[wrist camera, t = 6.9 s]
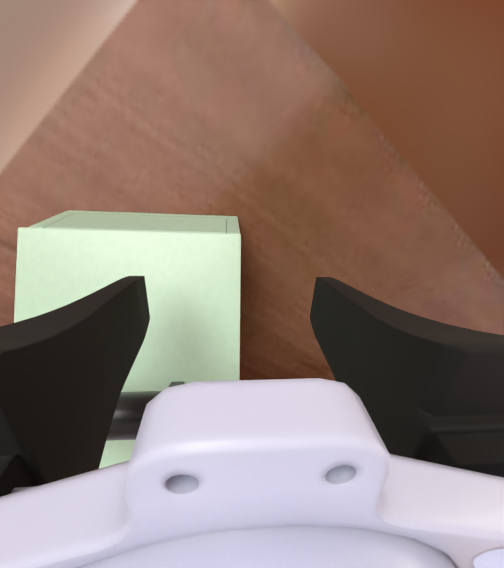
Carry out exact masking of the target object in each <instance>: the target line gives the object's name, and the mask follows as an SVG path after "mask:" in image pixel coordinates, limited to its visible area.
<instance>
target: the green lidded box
mask: <svg viewBox="0 0 504 568" xmlns="http://www.w3.org/2000/svg"><path fill="white" fill-rule="evenodd" d="M29 228H56V229H90V230H123V231H156V232H190V233H223V234H240V229H239V222H238V217H237V216H213V215H185V214H157V213H130V212H102V211H74V210H68V211H66V212H63V213H61V214H58V215H56V216H53V217H51V218H49V219H46V220H44V221H41V222H39V223H37V224H34V225H32V226H30V227H29Z"/></svg>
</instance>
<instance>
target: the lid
mask: <svg viewBox="0 0 504 568" xmlns="http://www.w3.org/2000/svg"><path fill="white" fill-rule="evenodd" d="M127 276H145V284H146V291H147V298H148V306H149V313H150V321H149V325H148V329H147V332H146V336H145V339H144V341H143V344H142V346H141V348H140V350H139V353H138V355H137V357H136V359H135V361H134V364H133V366H132V368H131V370H130V373H129V375H128V377H127V379H126V381H125V384H124V386H123V389H122V391H121V394H120V397H119V400H118V403H117V407H116V410H115V413H114V416H113V419H112V423H111V426H110V430H109V433H108V436H107V440H106V443H105V447H104V451H103V455H102V458H101V462H100V466H99V469H100V468H104V467H107V466H111V465H114V464H118V463H121V462H125V461H128V460H130V457H131V453H132V450H133V447H134V444H135V440H136V437H137V434H138V431H139V427H140V424H141V421H142V417H143V414H144V411H145V408H146V404H147V403H148V402H150V401H151V400H152V399H153V398H154V397H156V396H157V395H158V394H159V393H161V392H162V391H163V390H164V389H166V388H169V387H173V386H178V385H182V384H187V383H191V382H196V381H232V380H240V289H241V234H223V233H190V232H156V231H123V230H90V229H56V228H23V227H20V228H18V241H17V263H16V286H15V308H14V323H15V322H19V321H22V320H26V319H29V318H32V317H36V316H39V315H41V314H44V313H47V312H50V311H52V310H55V309H58V308H60V307H63V306H65V305H68V304H70V303H72V302H74V301H76V300H79V299H81V298H83V297H85V296H87V295H89V294H92V293H94V292H96V291H98V290H100V289H101V288H103V287H105V286H107V285H109V284H111V283H113V282H115V281H117V280H119V279H122V278H124V277H127Z"/></svg>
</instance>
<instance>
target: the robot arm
mask: <svg viewBox="0 0 504 568" xmlns="http://www.w3.org/2000/svg"><path fill="white" fill-rule="evenodd" d="M310 320H311V323H312V327H313V330H314V334H315V336H316V339H317V341H318V343H319V345H320V347H321V349H322V352H323V354H324V356H325V358H326V360H327V362H328V364H329V366H330V368H331V370H332V372H333V375H334V377H335V379H336V381H331V380H326V379H320V378H307V379H269V380H232V381H196V382H191V383H187V384H182V385H178V386H173V387H169V388H166V389H164V390H163V391H162V392H161V393H159V394H158V395H157V396H156V397H154V398H153V399H152V400H151V401H150V402H148V403H147V404H146V408H145V411H144V414H143V417H142V421H141V424H140V427H139V431H138V434H137V437H136V440H135V444H134V447H133V450H132V453H131V457H130V460H128V461H125V462H121V463H118V464H114V465H111V466H107V467H104V468H100V469H99V466H100V462H101V458H102V455H103V451H104V447H105V443H106V440H107V436H108V433H109V430H110V426H111V423H112V419H113V416H114V413H115V410H116V407H117V403H118V400H119V397H120V394H121V391H122V389H123V386H124V384H125V381H126V379H127V377H128V375H129V373H130V370H131V368H132V366H133V364H134V361H135V359H136V357H137V355H138V353H139V350H140V348H141V346H142V344H143V341H144V339H145V336H146V332H147V329H148V325H149V321H150V313H149V306H148V298H147V291H146V284H145V276H127V277H124V278H122V279H119V280H117V281H115V282H113V283H111V284H109V285H107V286H105V287H103V288H101V289H100V290H98V291H96V292H94V293H92V294H89V295H87V296H85V297H83V298H81V299H79V300H76V301H74V302H72V303H70V304H68V305H65V306H63V307H60V308H58V309H55V310H52V311H50V312H47V313H44V314H41V315H39V316H36V317H32V318H29V319H26V320H22V321H19V322H15V323H12V324H9V325H5V326H2V327H0V568H504V335H498V334H492V333H485V332H480V331H475V330H470V329H466V328H461V327H456V326H452V325H448V324H444V323H440V322H437V321H434V320H430V319H427V318H423V317H420V316H417V315H414V314H411V313H408V312H406V311H403V310H400V309H397V308H395V307H392V306H390V305H388V304H386V303H383V302H381V301H379V300H377V299H374V298H372V297H370V296H368V295H366V294H364V293H362V292H360V291H358V290H356V289H354V288H353V287H351V286H349V285H347V284H345V283H343V282H341V281H339V280H336V279H334V278H331V277H316V283H315V289H314V295H313V301H312V307H311V313H310Z"/></svg>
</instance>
